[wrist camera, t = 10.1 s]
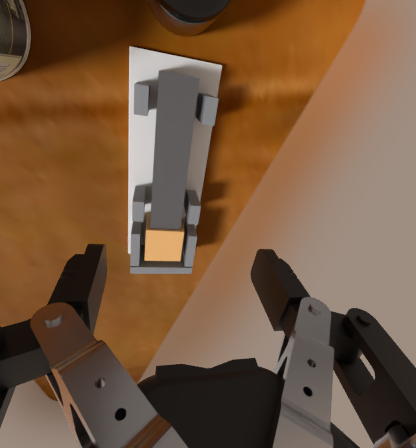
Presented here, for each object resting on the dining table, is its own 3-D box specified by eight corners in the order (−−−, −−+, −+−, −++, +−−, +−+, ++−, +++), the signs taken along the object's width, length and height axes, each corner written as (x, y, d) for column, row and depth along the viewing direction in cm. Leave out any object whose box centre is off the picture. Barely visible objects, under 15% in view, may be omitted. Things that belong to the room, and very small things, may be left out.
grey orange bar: (154, 69, 24) (153, 69, 21) (198, 78, 25) (205, 79, 22) (145, 240, 34) (144, 260, 31) (177, 241, 35) (180, 261, 32)
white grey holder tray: (130, 46, 24) (123, 40, 19) (220, 65, 26) (234, 63, 21) (128, 249, 36) (124, 276, 31) (191, 251, 38) (195, 276, 33)
